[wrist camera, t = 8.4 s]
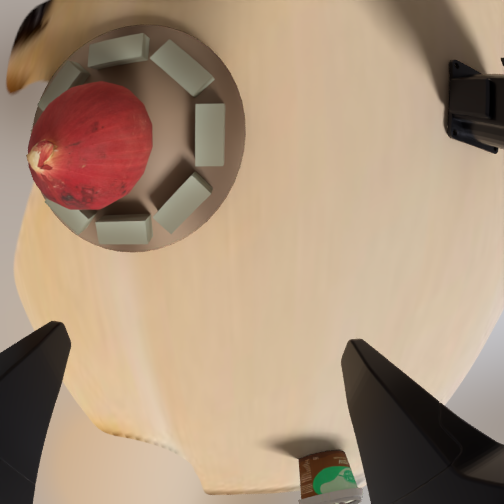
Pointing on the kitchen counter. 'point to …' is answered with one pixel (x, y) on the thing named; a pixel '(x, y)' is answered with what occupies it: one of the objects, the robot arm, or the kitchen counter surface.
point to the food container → (328, 479)
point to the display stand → (161, 134)
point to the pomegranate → (90, 146)
